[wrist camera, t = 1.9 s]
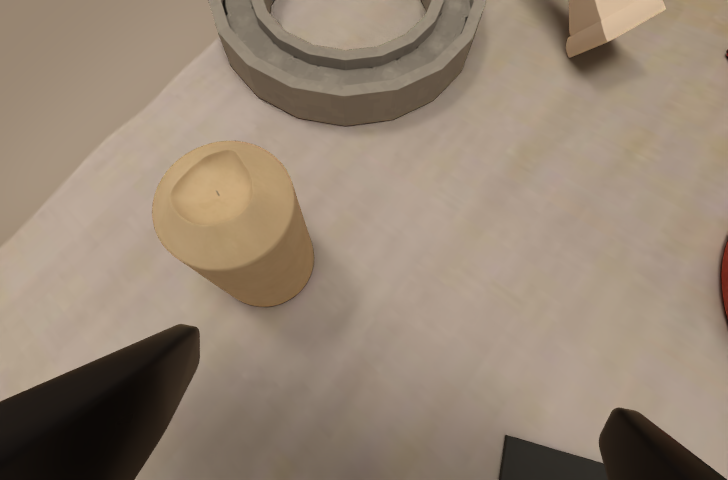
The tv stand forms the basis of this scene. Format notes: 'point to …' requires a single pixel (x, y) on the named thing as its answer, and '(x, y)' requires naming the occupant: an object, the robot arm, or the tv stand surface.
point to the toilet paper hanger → (605, 20)
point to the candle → (235, 222)
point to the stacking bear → (725, 278)
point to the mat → (545, 463)
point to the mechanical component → (347, 62)
